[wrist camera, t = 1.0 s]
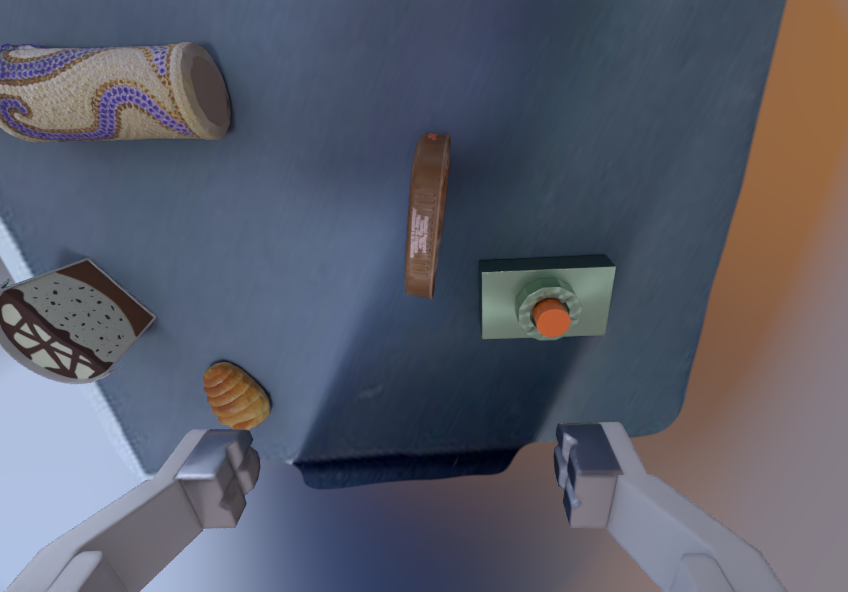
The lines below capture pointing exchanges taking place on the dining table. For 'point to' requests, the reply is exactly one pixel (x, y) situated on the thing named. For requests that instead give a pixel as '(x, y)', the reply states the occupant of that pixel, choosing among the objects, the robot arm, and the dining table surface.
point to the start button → (551, 318)
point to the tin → (426, 213)
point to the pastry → (235, 396)
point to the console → (544, 294)
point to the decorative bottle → (112, 93)
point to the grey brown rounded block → (70, 322)
